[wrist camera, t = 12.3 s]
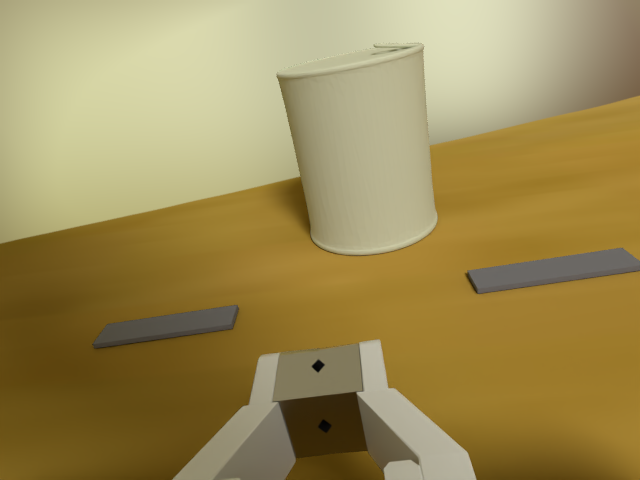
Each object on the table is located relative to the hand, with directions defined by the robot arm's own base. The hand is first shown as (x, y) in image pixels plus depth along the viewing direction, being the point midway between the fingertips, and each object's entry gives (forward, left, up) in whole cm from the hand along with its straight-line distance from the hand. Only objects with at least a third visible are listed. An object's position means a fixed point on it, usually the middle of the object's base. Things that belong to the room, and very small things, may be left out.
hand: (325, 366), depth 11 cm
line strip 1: (-10, +11, -6) cm, 16 cm away
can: (+2, +21, -6) cm, 22 cm away
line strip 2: (+11, +11, -6) cm, 17 cm away
